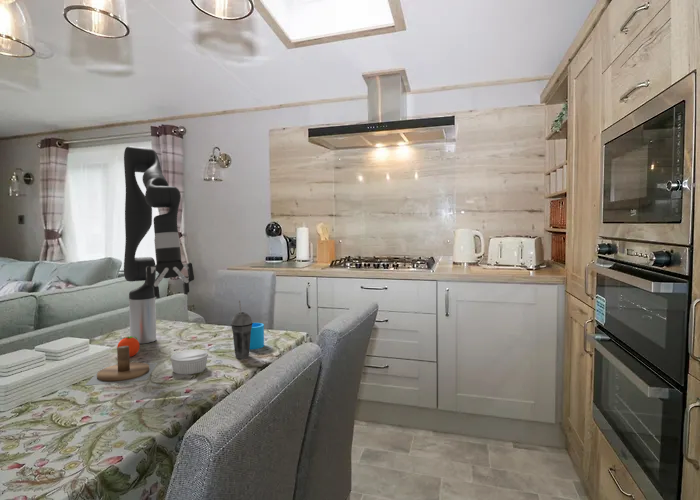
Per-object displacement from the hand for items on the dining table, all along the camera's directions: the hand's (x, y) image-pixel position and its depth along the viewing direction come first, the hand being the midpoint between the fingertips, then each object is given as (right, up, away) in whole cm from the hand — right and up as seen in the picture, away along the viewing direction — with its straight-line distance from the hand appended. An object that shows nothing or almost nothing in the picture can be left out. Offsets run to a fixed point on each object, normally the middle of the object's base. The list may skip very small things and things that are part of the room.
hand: (172, 296), depth 133 cm
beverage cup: (+21, -22, +9) cm, 32 cm away
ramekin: (+8, -23, -5) cm, 25 cm away
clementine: (-19, -22, +9) cm, 30 cm away
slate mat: (-11, -23, -9) cm, 27 cm away
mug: (+21, -22, +24) cm, 38 cm away
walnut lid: (-11, -23, -9) cm, 26 cm away
